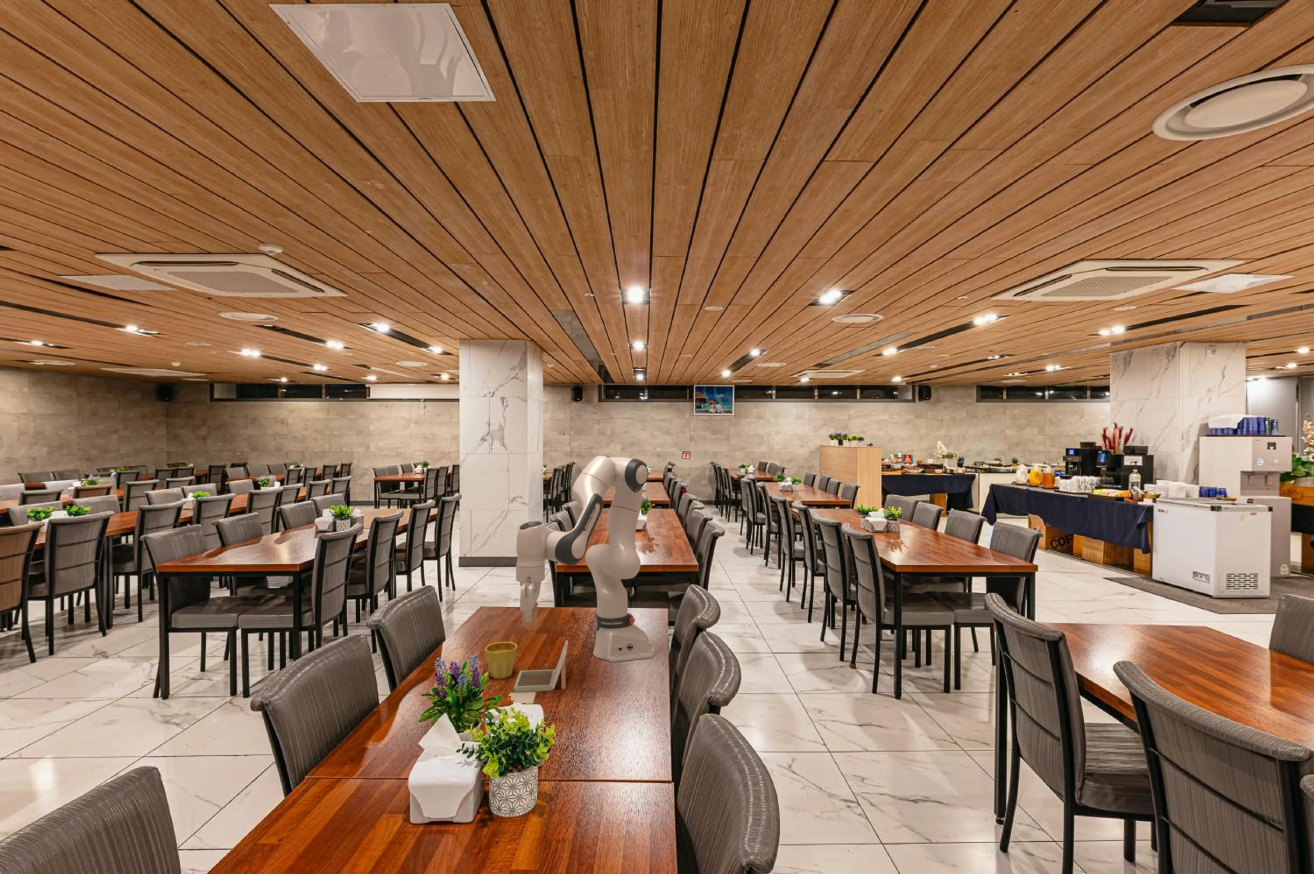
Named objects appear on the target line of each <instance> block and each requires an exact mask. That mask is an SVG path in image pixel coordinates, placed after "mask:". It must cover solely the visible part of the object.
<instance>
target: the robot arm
mask: <svg viewBox="0 0 1314 874" xmlns="http://www.w3.org/2000/svg"><path fill="white" fill-rule="evenodd" d="M647 466H648V465H647V464H646V463H645V462H644V460H641V459H638V458H631V457H627V456H626V457H625V456H609V455H607V456H605V455H597V456H595V457H593V458H592V459H591V460H590V461H589V463H588V464H587V465H585V467H584V468H583V469H582V471H581V473H579V475H578V476H577V478H576V479H575V481H574V483H573V485H572V489H571V492H572V493H571V494H572V496H573V499H574V500H575V502H576V503H577V504H578V505H579V506H580V507H581V508H582V511H581V513H580V515H579V517H578V519H577V521H576V524H575V525H574V527H573V529H571V530H569V531H561V530H555V529H553V528H550V527H548V526H547V525H545V524H544V523H543V522H542V521H538V520H533V521H528V522H525V523H523V524H521V525H520V526H519V528H518V531H517V536H516V547H515V548H516V549H515V550H516V556H517V560H516V563H515V564H516V565H515V580H516V582H518V583H519V585H520V587H521V588H520V594H519V595H520V597H519V598H520V601H519V609H520V612H522V613H523V612H525V616H526V622H531V620H532V610H533V608H534V605H535V603H536V602H537V601H538V598H540V592H541V585H542V582H543V581H544V580H545V577H546V576H545V575H546V574H545V572H546V570H545V569H546V568H545V566H546V565H545V564H546V562H545V561H546V560H548V561H552V562H557V563H561V564H564V565H566V566H570V567H571V566H575V565H577V564H580V562H581V561H582V560H583V559H584V561H585V564H586V566H587V568H588V569H589V571H590V572H591V577H592V578H593V582H594V586H595V590H596V604H597V605H596V607H597V608H596V610H597V613H596V616H595V629H596V637H595V644H594V649H593V652H592V654H593V656H594V657H596V658H598V659H602V660H606V661H608V662H610V663H616V662H625V661H635V660H643V659H651V658H653V657H654V656H655V655H656V649H655V647H654V645H653V644H651V643H650V642H649V638H648V635H647V633H646V632H645V631H644V630H643V629H641V628H640V627H639V626H638V625H636V624H635V622H636V619H635V617H634V616H633V614H632V613H631V612H630V613H629V611H628V609H629V608H628V603H629V602H628V591H627V589H626V588H625V586H624V585H623V583H622V580H628V579H629V580H630V579H634V578H635V577H636V576H637V575H638V573H640V572H639V571H640V569H641V565H642V564H641V559H640V556H639V555H638V552H637V549H636V531H637V526H638V521H639V516H640V513H641V512H640V511H641V507H642V501H643V487H644V486H645V484H646V482H648V481H647V480H648V479H649V469H648V467H647ZM610 487H615V493H614V495H613V497H612V500H611V502H610V503H611V504H610V507H609V511H608V514H607V515H608V516H607V520H606V523H605V528H606V530H607V532H608V537H609V543H608V544H606V543H599V544H593V545H592V546H590V547H589V548H588V545H589V542H590V539H591V537H592V534H593V532H594V530H595V529H596V526H597V523H598V522H599V519H600V517H601V514H602V513H603V509H604V504H605V502H604V497H605V495H606V493H607V491H608V490H609V488H610Z"/></svg>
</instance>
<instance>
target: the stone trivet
mask: <svg viewBox="0 0 1314 874" xmlns="http://www.w3.org/2000/svg"><path fill="white" fill-rule="evenodd" d="M509 693H510V694H509ZM509 693H508V695H507V697H508V696H511V701H513V700H514V701H513V703H526V704H525V705H534V701H535V698H536V695H537V691H528V692H509Z"/></svg>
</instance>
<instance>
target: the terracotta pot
mask: <svg viewBox="0 0 1314 874" xmlns="http://www.w3.org/2000/svg"><path fill="white" fill-rule="evenodd" d="M538 607H539V602H537V601H536V603H535V605H534V608H533V610H532V620H531V622H526V616H525V612H522V623H521V624H522V629H523V628H525V629H533V628H536V627H538V623H537V622H538Z"/></svg>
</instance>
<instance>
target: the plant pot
mask: <svg viewBox="0 0 1314 874" xmlns="http://www.w3.org/2000/svg"><path fill="white" fill-rule="evenodd" d="M517 657H518V644H517V643H515V642H512V641H500V642H499V641H498V642H497V641H496V642H494V643H490V644H488V645H487V646H486V647H485V648H484V659H485V660H486V661H487V666H488V670H489V674H490V673H491V675H490V677H491V676H493V677H494V678H493V679H496V680H497V679H505V678H509V677H510V676H512V674H513V670H514V666H515V665H514V664H515V661H516V658H517Z"/></svg>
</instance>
